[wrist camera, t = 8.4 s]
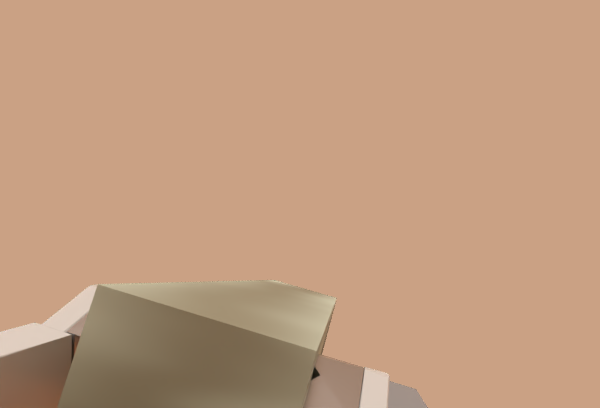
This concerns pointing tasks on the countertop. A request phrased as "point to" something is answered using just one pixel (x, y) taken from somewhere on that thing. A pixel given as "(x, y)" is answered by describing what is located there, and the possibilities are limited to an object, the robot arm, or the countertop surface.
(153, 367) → the beige block
